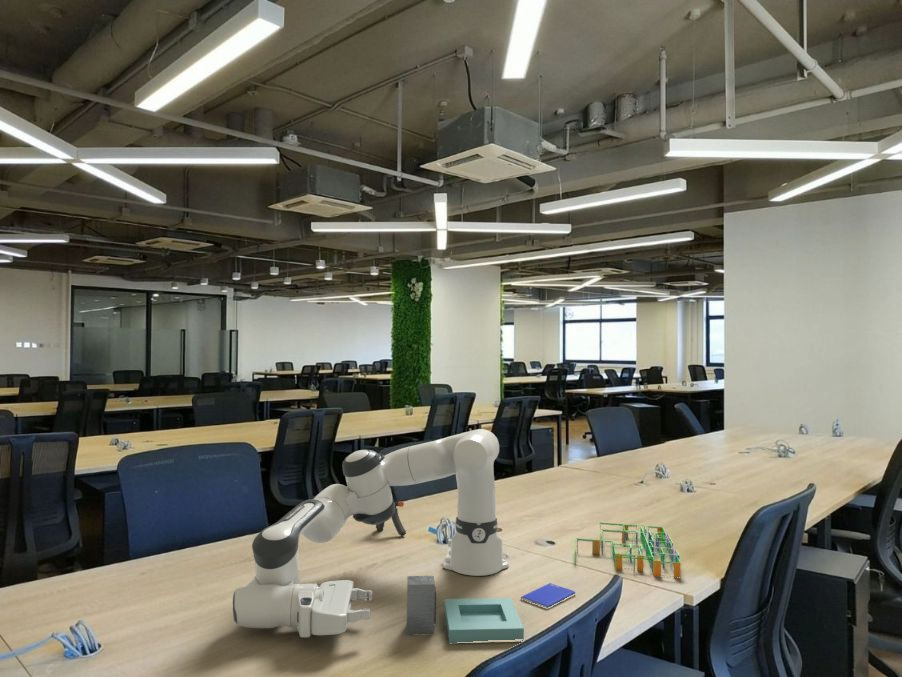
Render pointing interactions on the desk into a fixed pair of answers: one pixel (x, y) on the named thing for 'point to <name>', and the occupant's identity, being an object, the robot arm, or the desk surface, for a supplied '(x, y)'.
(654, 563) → the house model
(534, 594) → the blue book
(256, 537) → the robot arm
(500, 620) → the tray
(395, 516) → the hand grip strengthener
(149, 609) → the desk surface
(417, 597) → the block
